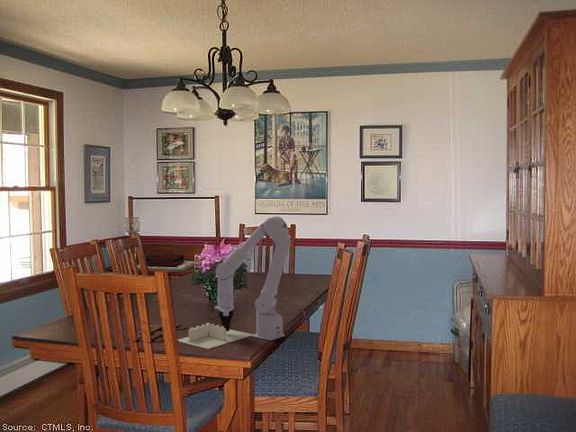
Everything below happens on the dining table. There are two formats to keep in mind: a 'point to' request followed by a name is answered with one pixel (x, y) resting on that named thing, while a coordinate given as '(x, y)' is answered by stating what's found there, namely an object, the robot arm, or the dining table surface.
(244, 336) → the card
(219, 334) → the folding fence panel
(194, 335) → the fence post and fixed panel
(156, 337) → the decorative fence
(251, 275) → the dining table surface
